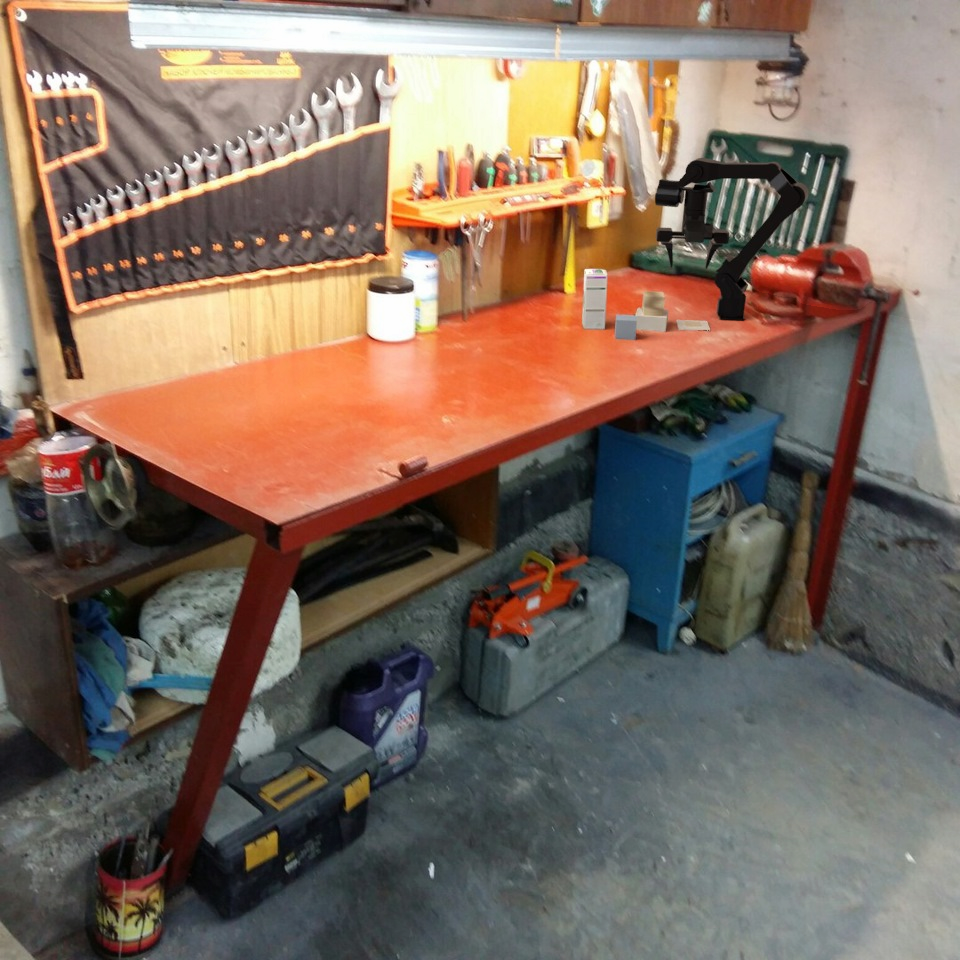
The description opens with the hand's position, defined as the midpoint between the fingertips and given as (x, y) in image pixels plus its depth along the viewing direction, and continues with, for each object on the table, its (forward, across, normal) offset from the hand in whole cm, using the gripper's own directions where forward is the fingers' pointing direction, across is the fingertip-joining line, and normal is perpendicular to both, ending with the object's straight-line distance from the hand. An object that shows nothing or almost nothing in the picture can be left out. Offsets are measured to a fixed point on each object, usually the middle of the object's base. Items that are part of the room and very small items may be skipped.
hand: (688, 267), depth 265 cm
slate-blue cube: (+12, -17, -26) cm, 33 cm away
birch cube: (+8, -10, -16) cm, 21 cm away
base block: (+12, -10, -16) cm, 22 cm away
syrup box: (+12, -25, -18) cm, 33 cm away
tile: (+12, +1, -14) cm, 18 cm away
